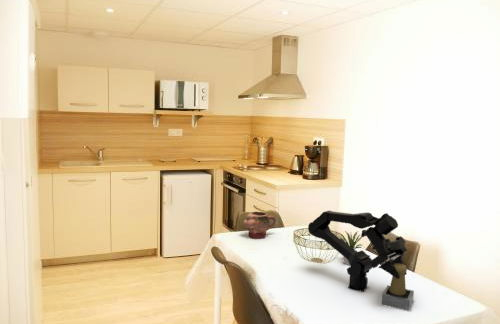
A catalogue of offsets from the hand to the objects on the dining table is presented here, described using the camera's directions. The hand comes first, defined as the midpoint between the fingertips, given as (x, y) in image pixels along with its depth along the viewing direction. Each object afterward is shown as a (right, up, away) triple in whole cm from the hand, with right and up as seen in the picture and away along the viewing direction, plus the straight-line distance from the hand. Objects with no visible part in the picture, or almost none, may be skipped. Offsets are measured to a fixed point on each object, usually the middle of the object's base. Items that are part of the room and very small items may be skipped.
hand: (402, 276), depth 157 cm
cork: (-1, -7, +2) cm, 7 cm away
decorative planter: (-53, 0, +84) cm, 99 cm away
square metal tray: (-1, -11, +2) cm, 11 cm away
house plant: (-8, -6, +44) cm, 45 cm away
